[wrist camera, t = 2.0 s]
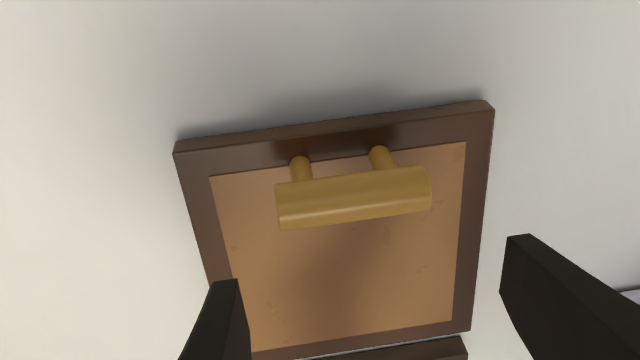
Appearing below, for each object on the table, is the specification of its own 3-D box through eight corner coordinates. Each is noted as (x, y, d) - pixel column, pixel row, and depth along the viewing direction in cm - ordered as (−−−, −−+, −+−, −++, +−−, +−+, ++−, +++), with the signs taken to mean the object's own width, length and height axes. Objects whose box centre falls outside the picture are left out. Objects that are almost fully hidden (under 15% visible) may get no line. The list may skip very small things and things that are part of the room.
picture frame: (485, 98, 19) (542, 153, 16) (463, 315, 26) (500, 391, 22) (174, 139, 19) (156, 207, 15) (232, 352, 25) (230, 437, 22)
